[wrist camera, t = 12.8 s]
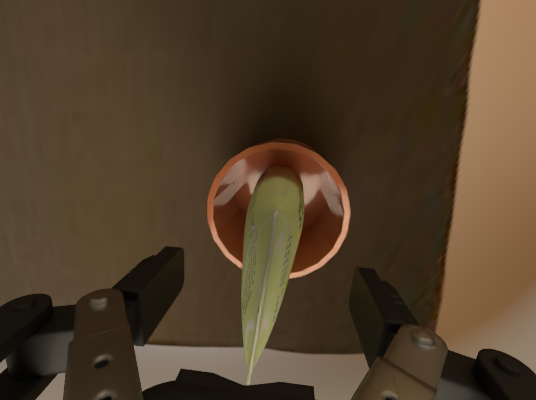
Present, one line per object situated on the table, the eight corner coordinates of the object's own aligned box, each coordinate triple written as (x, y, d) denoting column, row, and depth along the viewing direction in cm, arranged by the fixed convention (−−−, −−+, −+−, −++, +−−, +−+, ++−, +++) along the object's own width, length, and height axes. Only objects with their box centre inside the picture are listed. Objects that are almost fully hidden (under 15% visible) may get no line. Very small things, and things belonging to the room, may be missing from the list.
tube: (315, 200, 28) (361, 340, 9) (275, 223, 29) (246, 390, 11) (286, 155, 27) (276, 212, 9) (247, 180, 28) (159, 282, 10)
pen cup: (230, 231, 31) (206, 271, 22) (234, 134, 28) (208, 137, 19) (325, 241, 30) (338, 286, 21) (339, 143, 27) (361, 149, 18)
